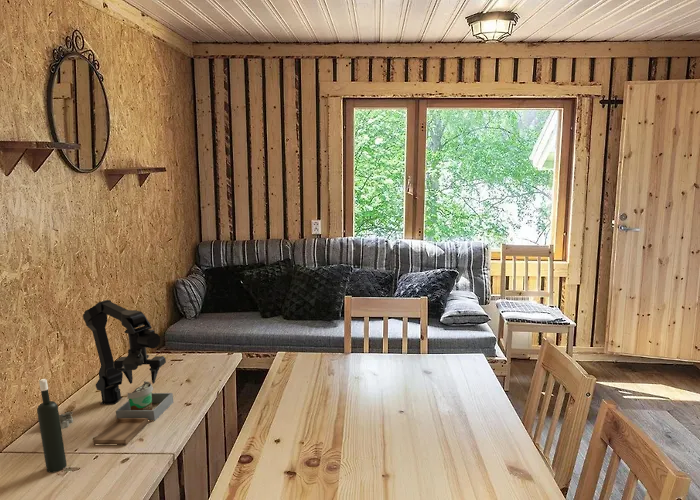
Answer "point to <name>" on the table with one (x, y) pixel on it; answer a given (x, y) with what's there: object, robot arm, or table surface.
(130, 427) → the tray
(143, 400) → the food container
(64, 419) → the egg carton
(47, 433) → the wine bottle
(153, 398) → the tub
